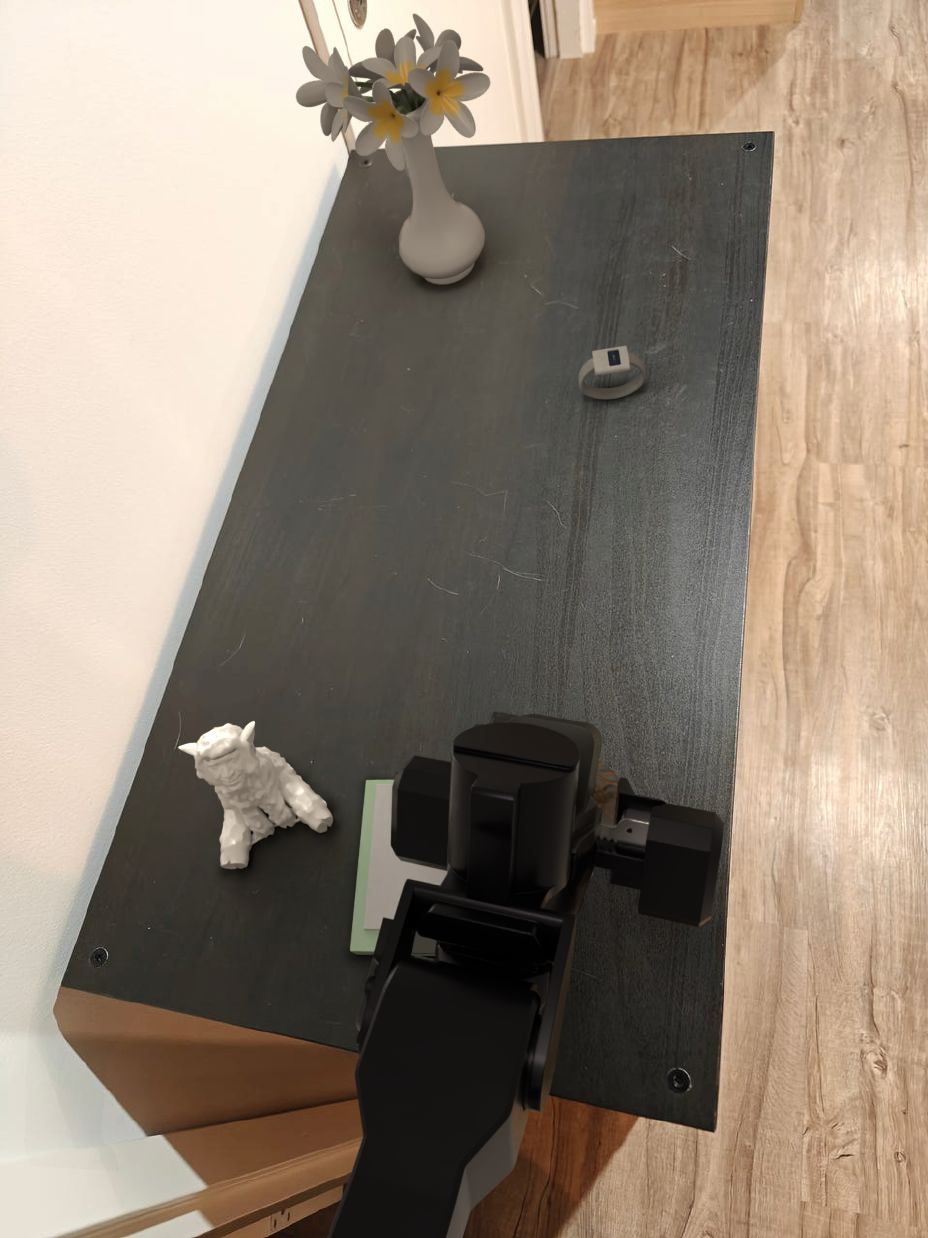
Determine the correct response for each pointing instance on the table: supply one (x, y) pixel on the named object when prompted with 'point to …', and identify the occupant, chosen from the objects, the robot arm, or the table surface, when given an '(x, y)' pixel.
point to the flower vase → (409, 134)
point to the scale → (383, 874)
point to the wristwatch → (611, 363)
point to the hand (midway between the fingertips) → (578, 775)
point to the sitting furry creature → (253, 790)
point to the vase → (606, 792)
